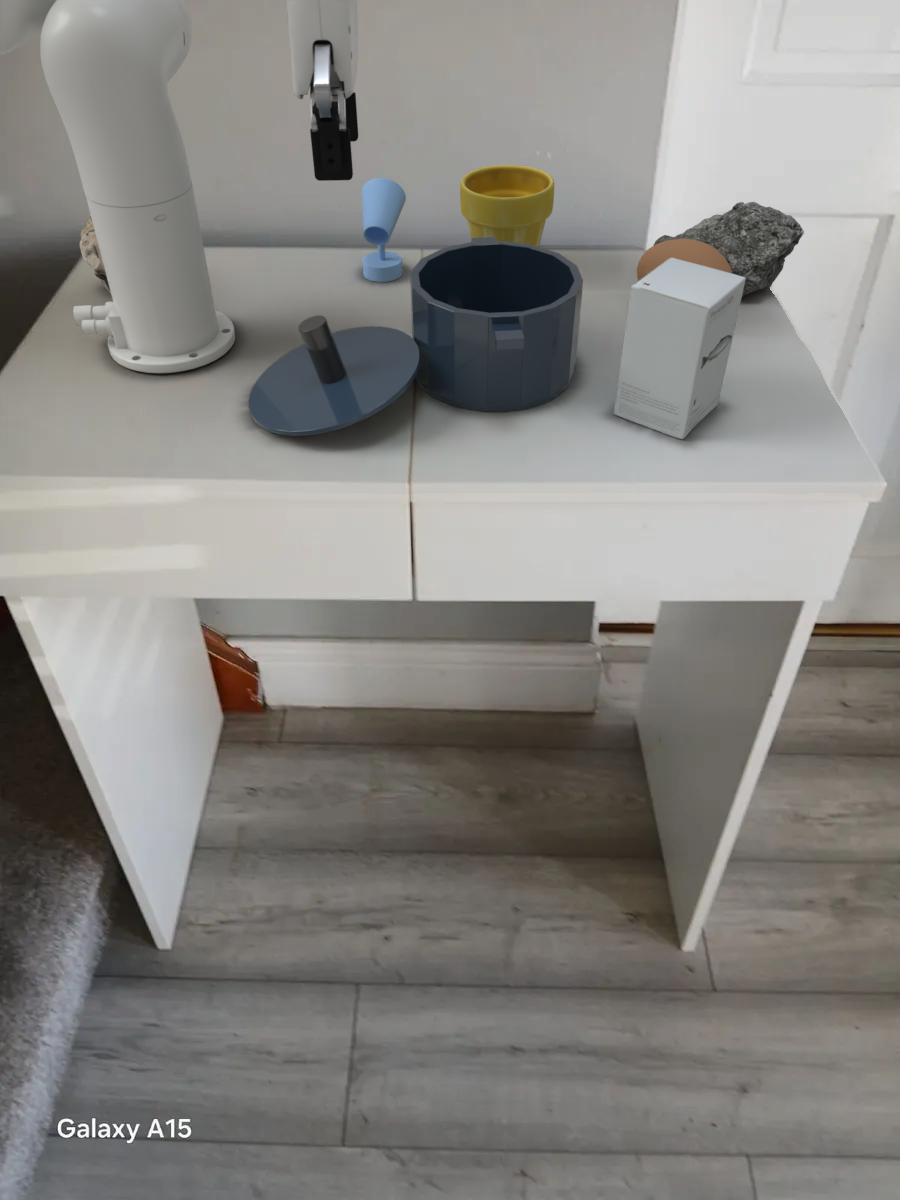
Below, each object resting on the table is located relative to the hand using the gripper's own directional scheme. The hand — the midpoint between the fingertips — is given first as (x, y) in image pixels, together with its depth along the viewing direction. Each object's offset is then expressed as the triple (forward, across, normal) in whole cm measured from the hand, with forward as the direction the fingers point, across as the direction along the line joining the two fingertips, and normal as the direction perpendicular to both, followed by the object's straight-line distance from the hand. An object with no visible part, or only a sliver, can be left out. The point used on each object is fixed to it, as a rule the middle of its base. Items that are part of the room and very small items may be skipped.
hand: (337, 159), depth 85 cm
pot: (+18, +5, +14) cm, 24 cm away
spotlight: (+18, -18, +3) cm, 26 cm away
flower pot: (+19, -18, +16) cm, 31 cm away
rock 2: (+13, -11, +39) cm, 42 cm away
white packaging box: (+19, +13, +30) cm, 37 cm away
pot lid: (+16, +10, -1) cm, 19 cm away
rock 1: (+18, -15, -25) cm, 35 cm away
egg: (+14, -3, +38) cm, 41 cm away
